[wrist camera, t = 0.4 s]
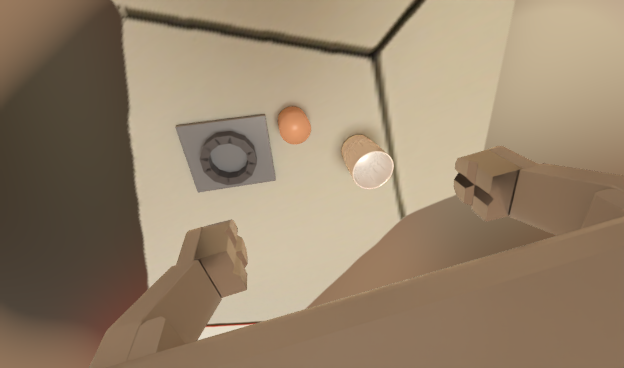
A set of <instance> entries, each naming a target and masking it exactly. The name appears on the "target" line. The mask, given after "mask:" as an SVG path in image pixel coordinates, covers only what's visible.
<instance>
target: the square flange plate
mask: <svg viewBox="0 0 624 368" xmlns="http://www.w3.org/2000/svg"><path fill="white" fill-rule="evenodd" d="M176 130H177V133H178V136H179V139H180V142H181V145H182V148H183V151H184V154H185V156H186V159H187V162H188V165H189V168H190V171H191V174H192V177H193V180H194V182H195V185H196V188H197V191H198V192H204V191H210V190H217V189H223V188H230V187H236V186H243V185H249V184H256V183H262V182H269V181H275V180H276V179H275V173H274V167H273V161H272V155H271V148H270V142H269V136H268V130H267V124H266V118H265V114H262V115H254V116H246V117H238V118H231V119H223V120H215V121H207V122H199V123H191V124H183V125H177V126H176Z"/></svg>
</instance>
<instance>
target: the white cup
mask: <svg viewBox="0 0 624 368" xmlns="http://www.w3.org/2000/svg"><path fill="white" fill-rule="evenodd" d="M342 157H343V159H344V161H345V164H346V166H347V168H348V170H349V172H350V174H351V176H352V178H353V180H354V182H355V183H356V184H357V185H358V186H359V187H361V188H364V189H374V188H377V187H379V186H381V185H383V184H384V183H385V182H386V181H387V180H388V179H389V178H390V176H391V175H392V172H393V168H394V165H393V160H392V158H391V157H390V156H389V155H388V154H387V153H386V152H385V151H384V150H382V149H381V148H380V147H379V146H378V145H377V144H375V143H374V142H373V141H371V140H370V139H369V138H367V137H366V136H364V135H354V136H352V137H349V138H348V139H347V140H346V141H345V142H344V144H343V147H342Z"/></svg>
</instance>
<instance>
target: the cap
mask: <svg viewBox="0 0 624 368" xmlns="http://www.w3.org/2000/svg"><path fill="white" fill-rule="evenodd" d="M278 126H279V130H280V134H281V136H282V138H283V139H284V140H285V141H286V142H288V143H290V144H300V143H302V142H304V141H305V140H306V139H307V138H308V137H309V135H310V132H311V125H310V123H309V121H308V119H307V117H306V115H305V113H304V112H303V111H302V110H301V109H300V108H298V107H293V106H292V107H287V108H285V109H283V110H282V111H281V113H280V114H279V116H278Z"/></svg>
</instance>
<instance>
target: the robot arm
mask: <svg viewBox="0 0 624 368" xmlns="http://www.w3.org/2000/svg"><path fill="white" fill-rule="evenodd" d="M455 169H456V171H457V172H458V174H457V176H456V177H455V179H454V189H455V193H456V195H457V196H458V198H459V199H460V200H461V201H462V202H463V203H465V204H469V205H472V211H473V212H475V213H476V214H477V215H478V216H479V217H480V218H482V219H483V220H484V221H486V222H487V221H490V220H494V219H498V218H502V217H506V216H509V217H511V218H513V219H516V220H519V221H522V222H524V223H527V224H529V225H531V226H534V227H536V228H539V229H542V230H544V231H547V232H549V233H552V234H555V235H557V236H555V237H552V238H548V239H545V240H541V241H538V242H535V243H531V244H528V245H524V246H521V247H517V248H514V249H510V250H507V251H503V252H500V253H496V254H493V255H490V256H486V257H483V258H479V259H476V260H472V261H469V262H466V263H462V264H458V265H455V266H451V267H448V268H445V269H441V270H438V271H435V272H431V273H428V274H424V275H421V276H418V277H414V278H410V279H407V280H404V281H401V282H397V283H394V284H390V285H387V286H383V287H380V288H377V289H373V290H370V291H366V292H363V293H359V294H356V295H352V296H349V297H346V298H342V299H339V300H335V301H332V302H328V303H325V304H322V305H318V306H315V307H311V308H308V309H304V310H301V311H298V312H294V313H291V314H287V315H284V316H280V317H277V318H274V319H270V320H267V321H263V322H260V323H256V324H253V325H250V326H246V327H243V328H239V329H236V330H232V331H229V332H226V333H222V334H219V335H215V336H212V337H208V338H205V339H202V340H198V338H199V337H200V335H201V333H202V331H203V330H204V328H205V326H206V325H207V323H208V321H209V320H210V318H211V316H212V315H213V313H214V311H215V310H216V308H217V306H218V305H219V303H220V301H221V300H222V299H221V298H223V297H226V296H229V295H232V294H235V293H238V292H242V291H245V290H247V272H246V270H245V267H246V265H247V264H248V257H247V250H246V247H245V244H244V241H243V239H242V238H241V237H239V236H238V235H237V232H238V228H237V226H236V224H235V222H234V221H233V220H228V221H224V222H220V223H216V224H212V225H208V226H204V227H200V228H196V229H193V230H189V231H188V232H187V233H186V236H185V239H184V242H183V245H182V248H181V251H180V255H179V258H178V261H177V264H176V266H172V267H171V268H170V269H169V270H168V271H167V272H166V273H165V274H164V275H163V276H161V277H160V278H159V279H158V280H157V281H156V282H155V283H154V284H153V285H152V286H151V287H150V288H149V289H148V290H147V291H146V292H145V293H144V294H143V295H142V296H141V297H140V298H139V299H138V300H137V301H136V302H135V303H134V304H133V305H132V306H131V307H130V308H129V309H128V310H127V311H126V312H125V313H124V314H123V315H122V316H121V317H120V318H119V319H118V320H117V321H116V322H115V323H114V324H113V325H112V326H111V327H110V328H109V329H108V330H107V331H106V333H105V335H104V337H103V339H102V341H101V344H100V345H99V348H98V350H97V352H96V354H95V356H94V358H93V360H92V362H91V365H90V366H89V368H624V175H618V174H612V173H605V172H598V171H591V170H585V169H578V168H571V167H565V166H558V165H552V164H544V163H543V164H537V163H535V162H533V161H531V160H529V159H527V158H525V157H523V156H521V155H519V154H517V153H515V152H513V151H511V150H509V149H507V148H505V147H503V146H496V147H493V148H490V149H487V150H484V151H481V152H478V153H474V154H471V155H467V156H464V157H460V158H458V159H457V161H456V163H455ZM197 340H198V341H197Z"/></svg>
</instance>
